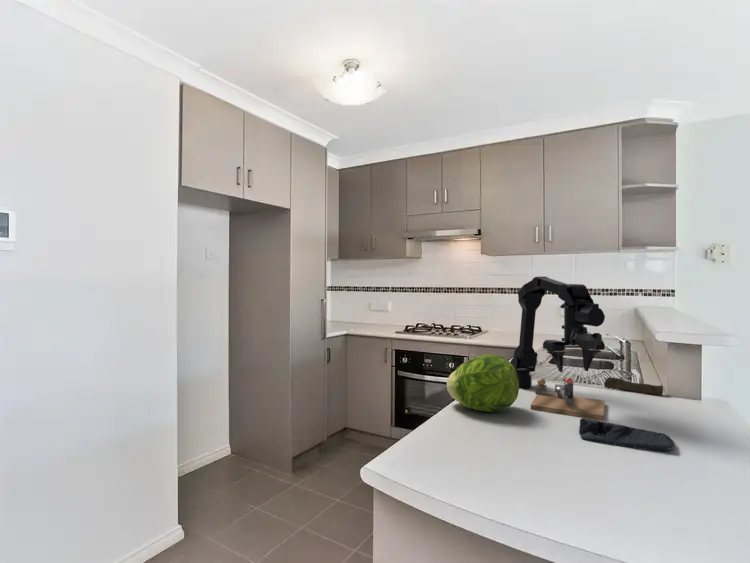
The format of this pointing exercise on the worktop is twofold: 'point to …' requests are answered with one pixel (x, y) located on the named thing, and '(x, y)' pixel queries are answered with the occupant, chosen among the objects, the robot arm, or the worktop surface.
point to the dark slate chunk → (624, 435)
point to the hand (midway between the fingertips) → (573, 371)
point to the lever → (566, 390)
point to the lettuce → (484, 383)
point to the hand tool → (633, 386)
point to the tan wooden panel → (566, 404)
